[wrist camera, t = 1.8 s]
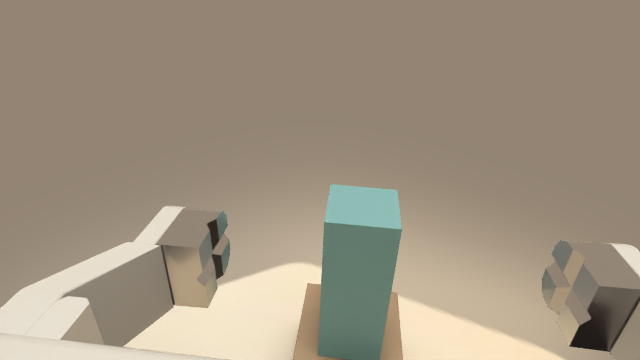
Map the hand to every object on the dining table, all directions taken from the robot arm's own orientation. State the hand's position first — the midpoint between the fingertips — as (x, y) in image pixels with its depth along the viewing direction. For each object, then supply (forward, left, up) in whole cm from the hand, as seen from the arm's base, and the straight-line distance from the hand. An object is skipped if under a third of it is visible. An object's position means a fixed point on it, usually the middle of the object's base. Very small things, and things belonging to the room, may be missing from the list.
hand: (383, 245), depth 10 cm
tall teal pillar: (0, +13, -19) cm, 23 cm away
